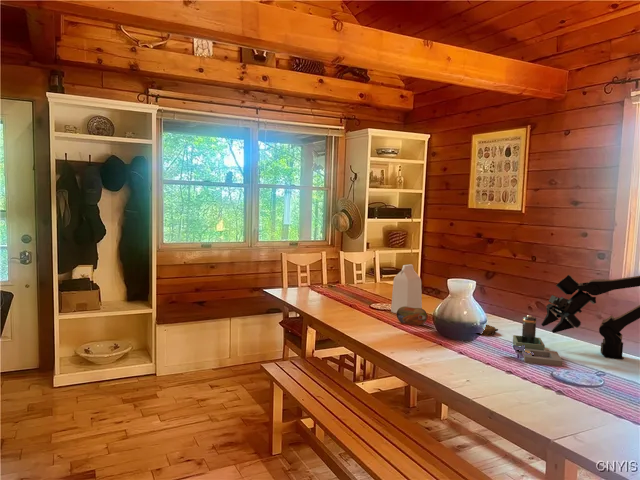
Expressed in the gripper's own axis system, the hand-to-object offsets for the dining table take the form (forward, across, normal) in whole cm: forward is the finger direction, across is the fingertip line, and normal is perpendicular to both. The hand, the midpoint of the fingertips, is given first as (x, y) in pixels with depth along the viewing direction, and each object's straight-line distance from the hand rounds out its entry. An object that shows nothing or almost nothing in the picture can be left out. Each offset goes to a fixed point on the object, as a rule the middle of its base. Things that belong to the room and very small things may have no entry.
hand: (547, 328), depth 186 cm
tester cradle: (+12, +13, +1) cm, 17 cm away
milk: (+41, -55, -29) cm, 74 cm away
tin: (+42, -33, -29) cm, 61 cm away
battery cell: (+11, 0, 0) cm, 11 cm away
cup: (+11, 0, +1) cm, 11 cm away
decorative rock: (+20, -24, -8) cm, 32 cm away
